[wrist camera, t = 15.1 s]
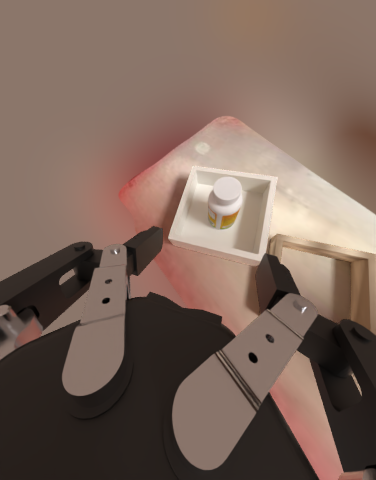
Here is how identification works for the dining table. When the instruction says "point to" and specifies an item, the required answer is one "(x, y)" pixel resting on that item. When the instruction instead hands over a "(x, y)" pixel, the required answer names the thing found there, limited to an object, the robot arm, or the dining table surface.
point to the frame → (362, 273)
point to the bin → (244, 228)
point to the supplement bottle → (224, 203)
